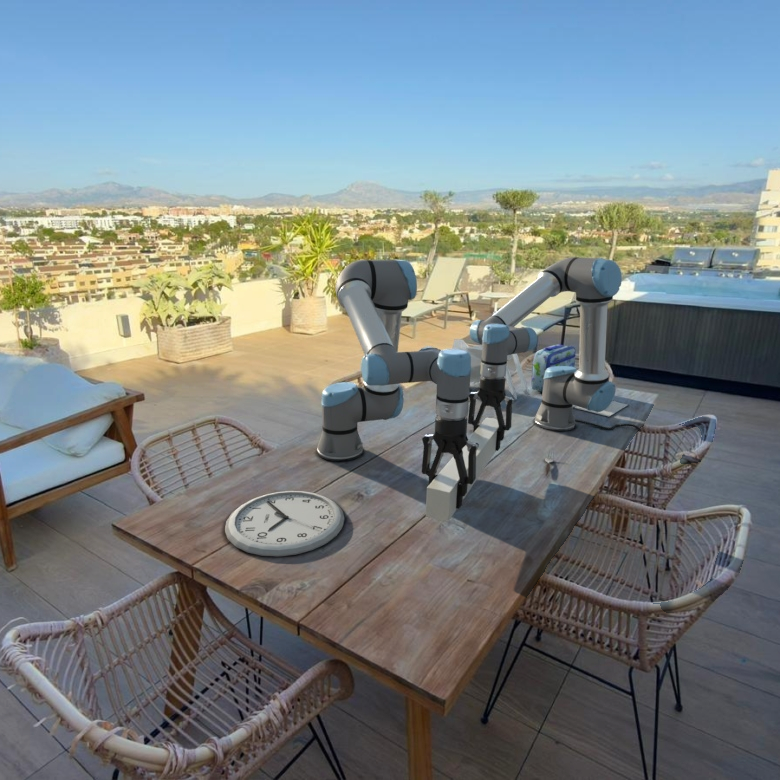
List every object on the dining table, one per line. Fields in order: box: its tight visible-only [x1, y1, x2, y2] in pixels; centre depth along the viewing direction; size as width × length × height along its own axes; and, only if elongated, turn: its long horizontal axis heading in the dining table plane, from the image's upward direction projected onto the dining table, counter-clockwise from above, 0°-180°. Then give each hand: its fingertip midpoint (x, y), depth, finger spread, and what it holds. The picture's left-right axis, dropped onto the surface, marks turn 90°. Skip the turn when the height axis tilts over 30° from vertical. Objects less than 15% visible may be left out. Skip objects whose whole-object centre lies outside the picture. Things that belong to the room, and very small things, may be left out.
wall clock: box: [224, 490, 345, 557], centre depth 134 cm, size 30×2×30 cm
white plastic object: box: [451, 310, 531, 400], centre depth 245 cm, size 37×45×31 cm
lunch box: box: [530, 344, 577, 392], centre depth 247 cm, size 26×11×21 cm, turn 134°
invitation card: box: [573, 400, 629, 418], centre depth 226 cm, size 21×1×15 cm
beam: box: [425, 417, 503, 523], centre depth 146 cm, size 54×6×8 cm, turn 155°
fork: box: [544, 451, 555, 476], centre depth 168 cm, size 3×16×2 cm, turn 160°
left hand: (446, 503), depth 130 cm, fingers closed on beam, 6 cm apart
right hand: (487, 447), depth 164 cm, fingers closed on beam, 6 cm apart
